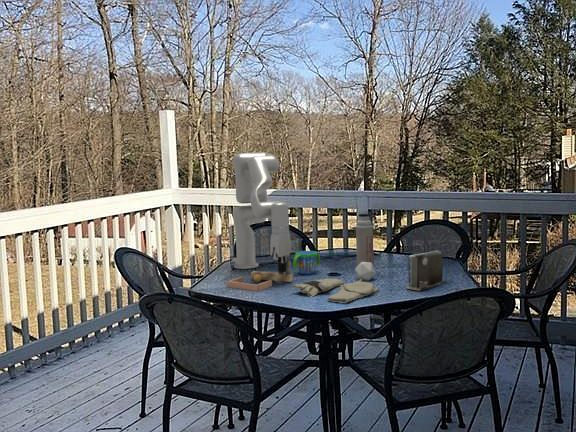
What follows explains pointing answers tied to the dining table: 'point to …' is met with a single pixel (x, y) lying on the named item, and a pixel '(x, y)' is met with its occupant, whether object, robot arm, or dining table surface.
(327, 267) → the dining table surface
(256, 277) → the ball
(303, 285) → the pair of gloves
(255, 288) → the open frame
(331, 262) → the dining table surface
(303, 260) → the snack cup
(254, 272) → the lever
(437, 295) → the dining table surface
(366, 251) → the thermos bottle
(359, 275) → the die
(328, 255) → the dining table surface
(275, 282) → the pivot base
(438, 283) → the radio
